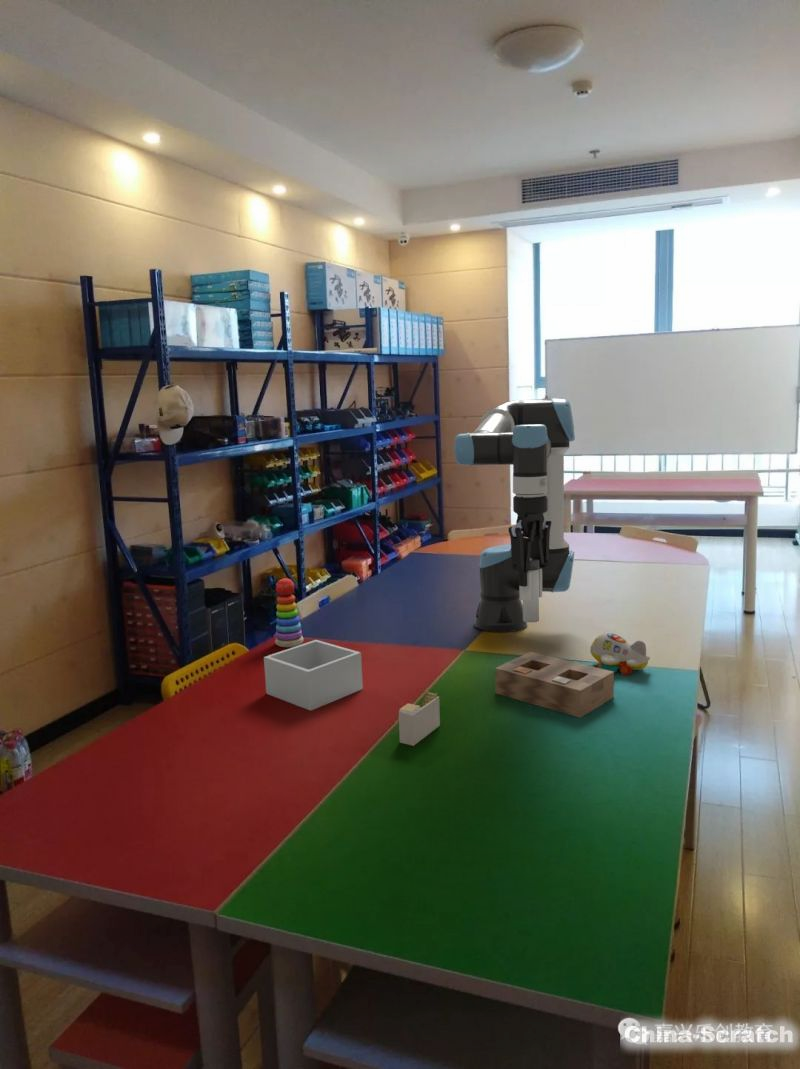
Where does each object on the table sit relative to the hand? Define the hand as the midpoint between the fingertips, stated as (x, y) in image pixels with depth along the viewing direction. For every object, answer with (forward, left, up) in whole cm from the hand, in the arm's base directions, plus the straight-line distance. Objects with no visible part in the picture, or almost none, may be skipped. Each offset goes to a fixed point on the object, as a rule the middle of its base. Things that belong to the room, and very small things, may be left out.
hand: (530, 597), depth 178 cm
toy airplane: (+9, +24, -22) cm, 33 cm away
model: (-4, -34, -22) cm, 41 cm away
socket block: (+6, -1, -21) cm, 22 cm away
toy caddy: (-39, -33, -21) cm, 55 cm away
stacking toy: (-72, -14, -22) cm, 76 cm away
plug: (0, 0, -5) cm, 5 cm away
